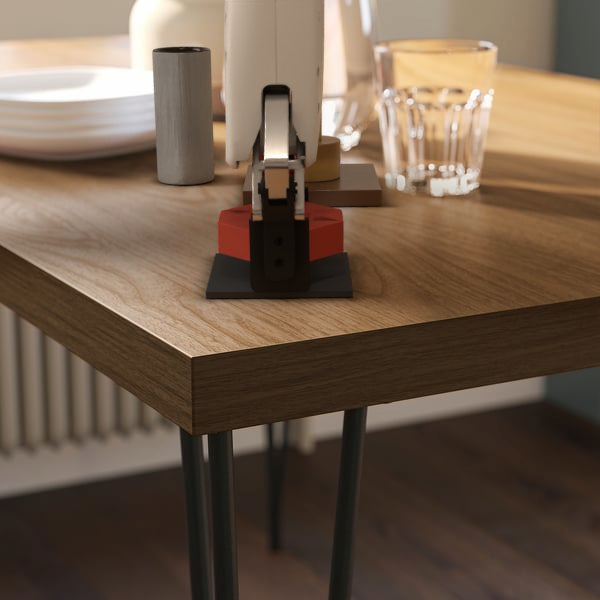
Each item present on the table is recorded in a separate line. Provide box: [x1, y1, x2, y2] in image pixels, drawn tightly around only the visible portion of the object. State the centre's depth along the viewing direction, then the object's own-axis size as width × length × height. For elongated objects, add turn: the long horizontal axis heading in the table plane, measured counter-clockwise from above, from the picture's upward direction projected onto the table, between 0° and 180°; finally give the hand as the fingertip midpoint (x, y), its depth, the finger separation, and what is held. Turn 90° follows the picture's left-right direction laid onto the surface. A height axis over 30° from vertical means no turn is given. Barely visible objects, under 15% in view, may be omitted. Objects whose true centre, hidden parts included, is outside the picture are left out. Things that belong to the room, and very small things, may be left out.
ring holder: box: [242, 111, 383, 207], centre depth 89 cm, size 10×10×7 cm
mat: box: [205, 251, 354, 299], centre depth 68 cm, size 8×8×1 cm
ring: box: [217, 202, 345, 261], centre depth 67 cm, size 7×7×2 cm
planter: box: [151, 46, 215, 186], centre depth 93 cm, size 4×4×10 cm
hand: (281, 268), depth 68 cm, fingers closed on ring, 7 cm apart
